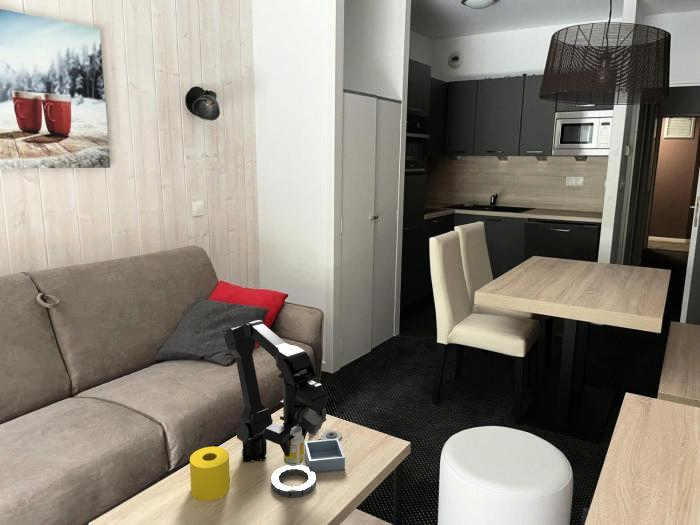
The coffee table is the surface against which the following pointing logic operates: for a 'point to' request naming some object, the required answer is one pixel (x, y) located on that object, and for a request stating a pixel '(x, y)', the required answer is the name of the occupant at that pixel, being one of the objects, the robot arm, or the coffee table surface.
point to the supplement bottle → (296, 448)
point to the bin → (324, 455)
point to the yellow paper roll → (209, 473)
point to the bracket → (330, 432)
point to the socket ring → (293, 491)
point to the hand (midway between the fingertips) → (293, 451)
